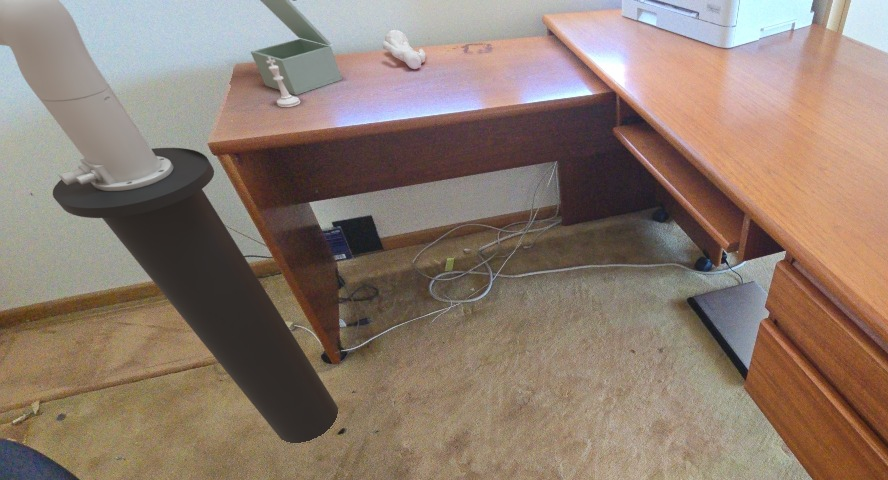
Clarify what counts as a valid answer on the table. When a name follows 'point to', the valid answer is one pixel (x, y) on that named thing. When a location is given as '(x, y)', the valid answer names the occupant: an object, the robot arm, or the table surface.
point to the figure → (403, 49)
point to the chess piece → (282, 88)
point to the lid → (295, 20)
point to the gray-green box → (298, 65)
